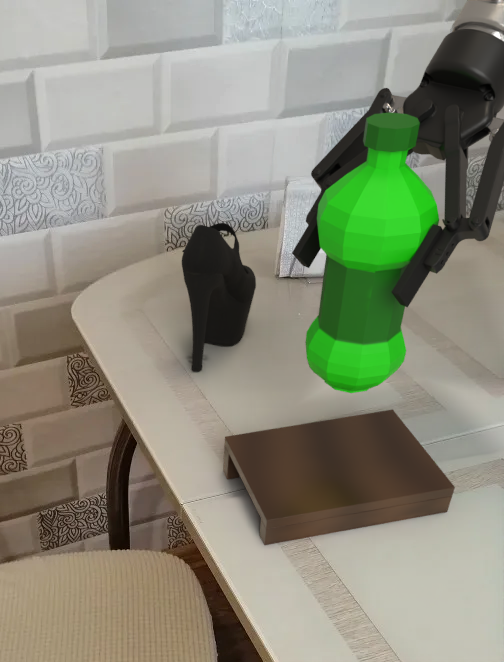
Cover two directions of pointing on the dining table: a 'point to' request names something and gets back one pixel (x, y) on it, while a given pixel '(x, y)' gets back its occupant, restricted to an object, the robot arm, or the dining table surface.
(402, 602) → the dining table surface
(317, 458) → the wooden display riser
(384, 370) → the plastic bottle
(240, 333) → the high-heeled shoe
